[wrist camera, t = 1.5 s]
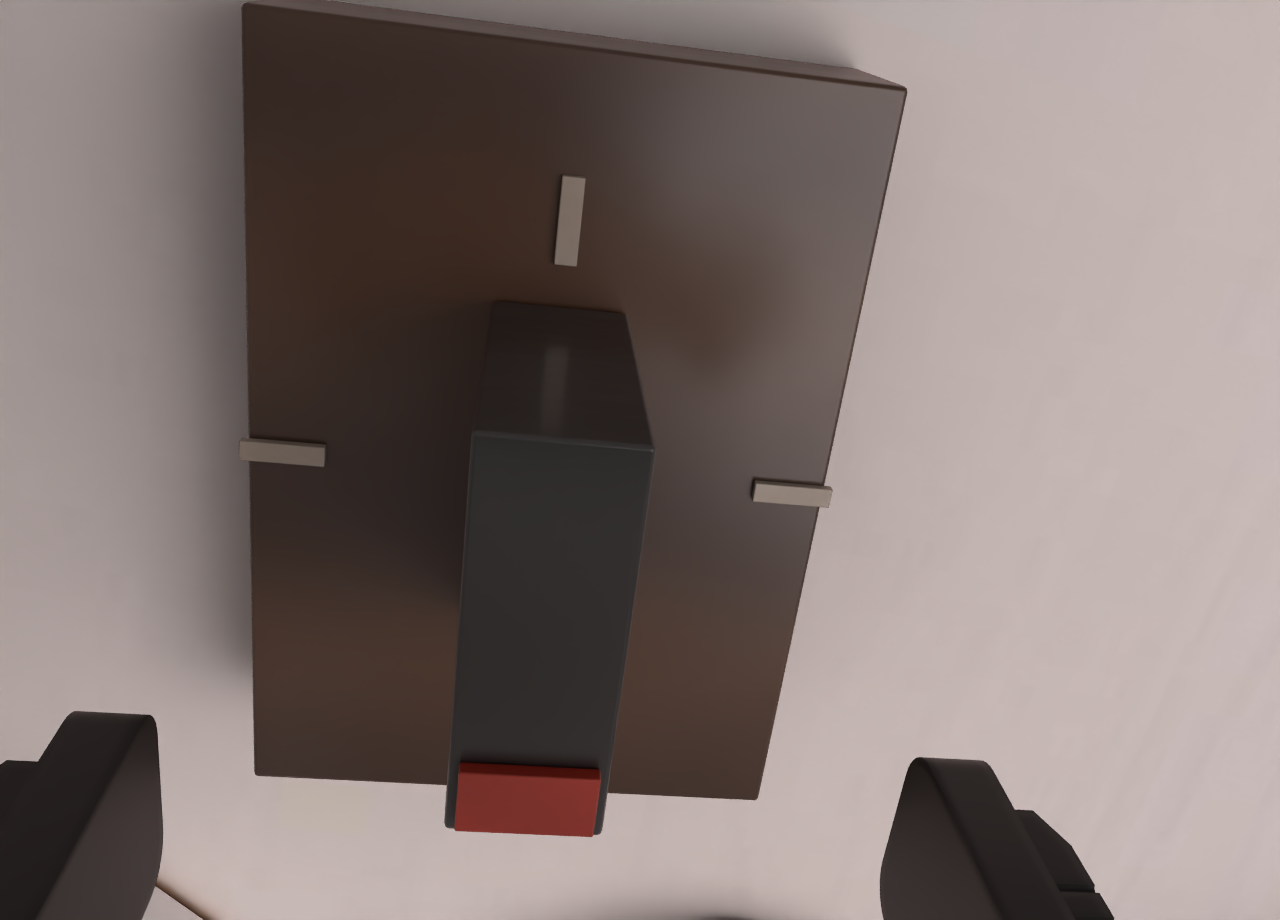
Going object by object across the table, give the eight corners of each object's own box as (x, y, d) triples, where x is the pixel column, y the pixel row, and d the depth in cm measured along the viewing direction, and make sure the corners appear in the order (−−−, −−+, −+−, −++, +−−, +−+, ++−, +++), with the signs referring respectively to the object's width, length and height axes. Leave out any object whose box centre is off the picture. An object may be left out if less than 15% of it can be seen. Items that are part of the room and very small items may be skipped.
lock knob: (493, 298, 18) (470, 439, 13) (627, 312, 18) (659, 455, 13) (469, 616, 20) (441, 842, 15) (589, 624, 21) (603, 849, 15)
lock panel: (278, -6, 19) (230, 0, 16) (866, 69, 20) (919, 89, 17) (281, 685, 24) (245, 782, 21) (740, 711, 26) (764, 807, 23)
